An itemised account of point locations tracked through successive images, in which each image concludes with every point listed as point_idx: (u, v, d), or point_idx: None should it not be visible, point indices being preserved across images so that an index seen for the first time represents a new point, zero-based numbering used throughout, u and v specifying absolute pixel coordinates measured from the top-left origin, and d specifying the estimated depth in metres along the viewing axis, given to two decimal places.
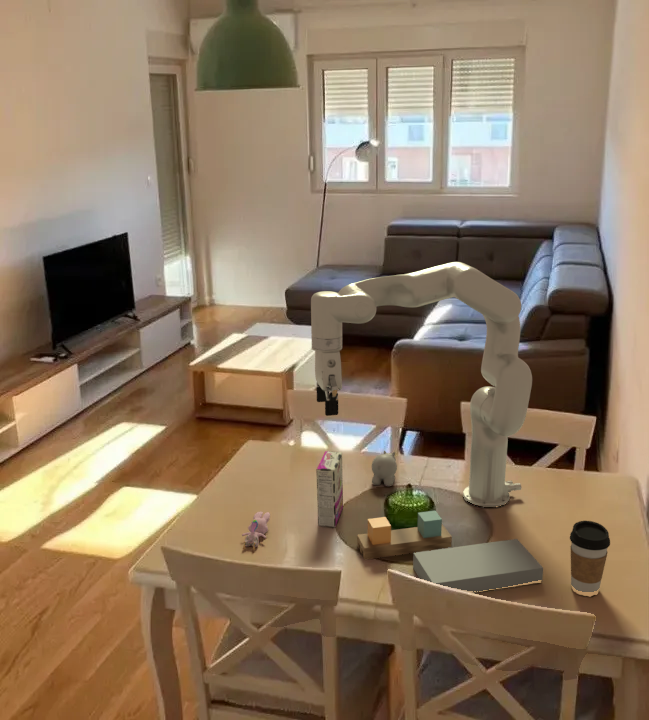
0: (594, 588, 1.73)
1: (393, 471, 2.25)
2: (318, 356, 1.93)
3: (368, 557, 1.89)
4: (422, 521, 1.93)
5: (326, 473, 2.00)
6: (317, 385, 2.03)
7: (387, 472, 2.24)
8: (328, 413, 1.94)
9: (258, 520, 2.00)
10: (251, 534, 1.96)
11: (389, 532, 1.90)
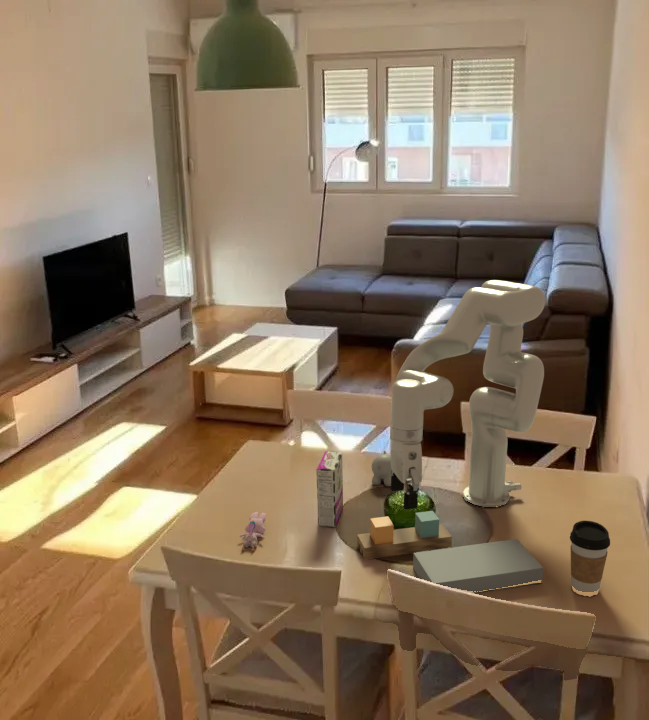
0: (594, 588, 1.73)
1: None
2: (397, 447, 1.84)
3: (368, 557, 1.89)
4: (419, 521, 1.92)
5: (326, 473, 2.00)
6: (392, 473, 1.94)
7: (387, 472, 2.24)
8: (407, 507, 1.85)
9: (255, 520, 2.00)
10: (249, 535, 1.95)
11: (392, 531, 1.90)
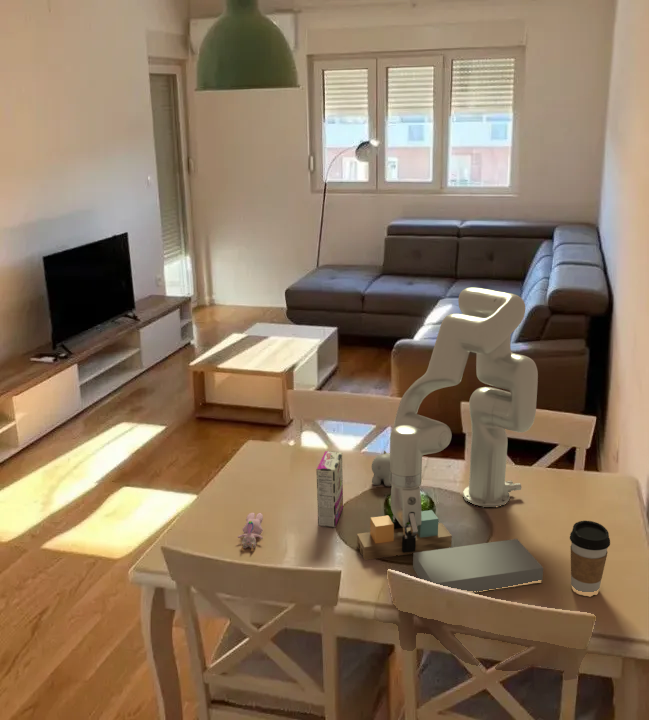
0: (594, 588, 1.73)
1: None
2: (397, 492, 1.88)
3: (368, 556, 1.89)
4: None
5: (326, 473, 2.00)
6: (393, 520, 1.97)
7: (387, 472, 2.24)
8: (405, 550, 1.90)
9: (253, 521, 2.00)
10: (248, 535, 1.95)
11: (392, 531, 1.90)
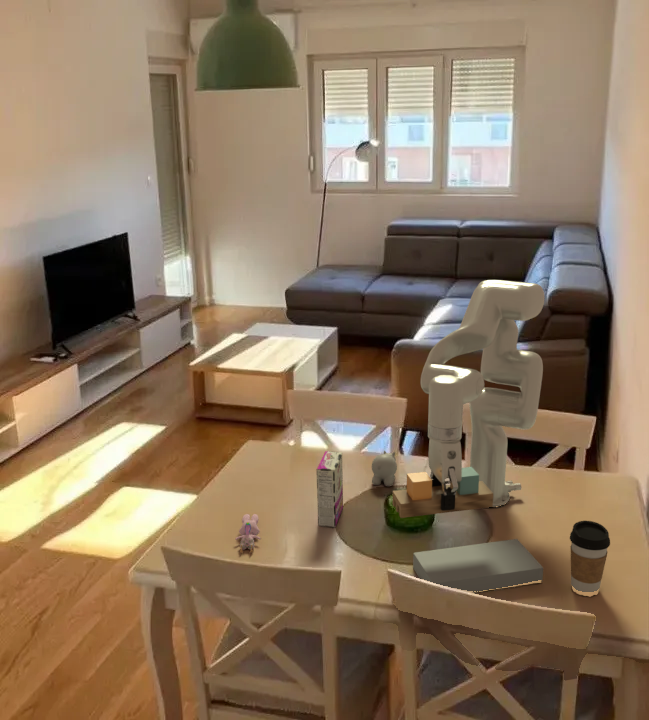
0: (594, 588, 1.73)
1: (393, 471, 2.25)
2: (436, 446, 1.78)
3: (404, 514, 1.79)
4: None
5: (326, 473, 2.00)
6: (431, 478, 1.86)
7: (387, 472, 2.24)
8: (444, 508, 1.80)
9: (249, 522, 1.99)
10: (246, 537, 1.94)
11: (430, 487, 1.80)
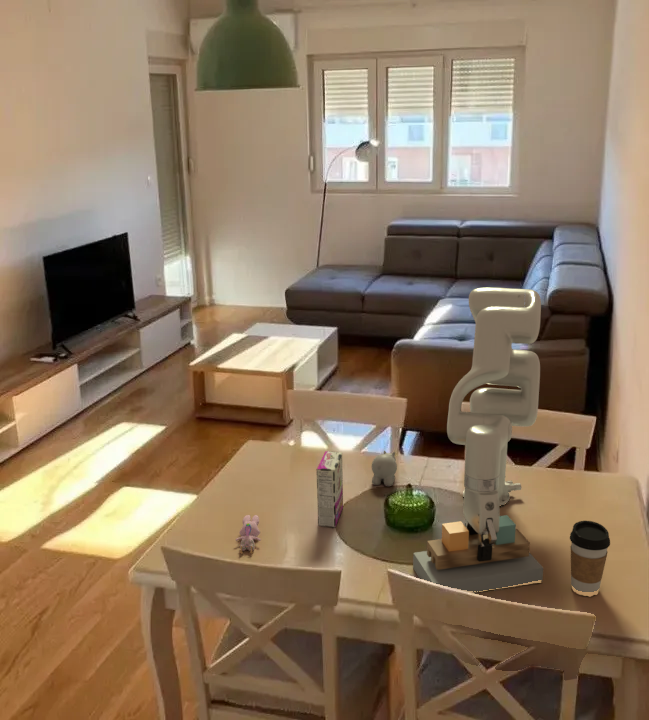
0: (594, 588, 1.73)
1: (393, 471, 2.25)
2: (473, 496, 1.74)
3: (441, 565, 1.76)
4: None
5: (326, 473, 2.00)
6: (465, 526, 1.83)
7: (387, 472, 2.24)
8: (481, 559, 1.77)
9: (250, 523, 1.99)
10: (246, 538, 1.94)
11: (466, 538, 1.76)
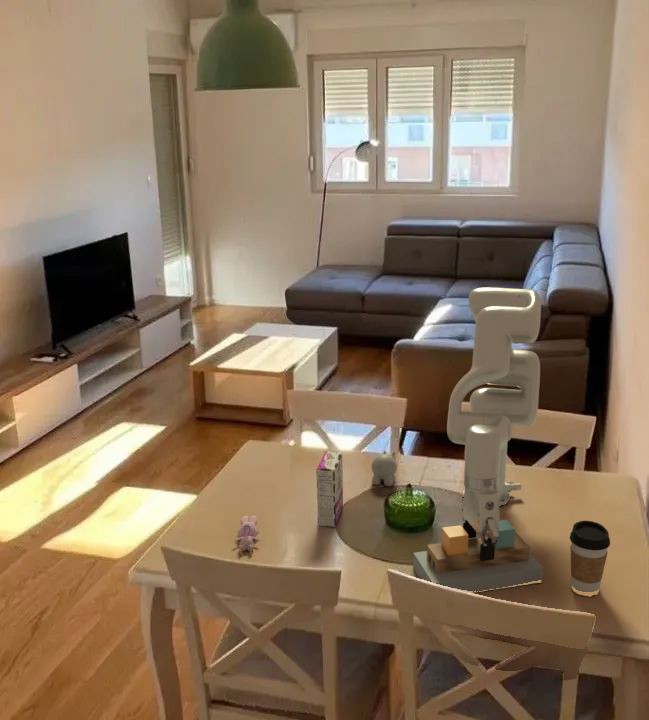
0: (594, 588, 1.73)
1: (393, 471, 2.25)
2: (473, 496, 1.74)
3: (441, 569, 1.76)
4: None
5: (326, 473, 2.00)
6: (463, 520, 1.84)
7: (387, 472, 2.24)
8: (483, 558, 1.75)
9: (248, 524, 1.98)
10: (245, 538, 1.94)
11: (466, 542, 1.77)
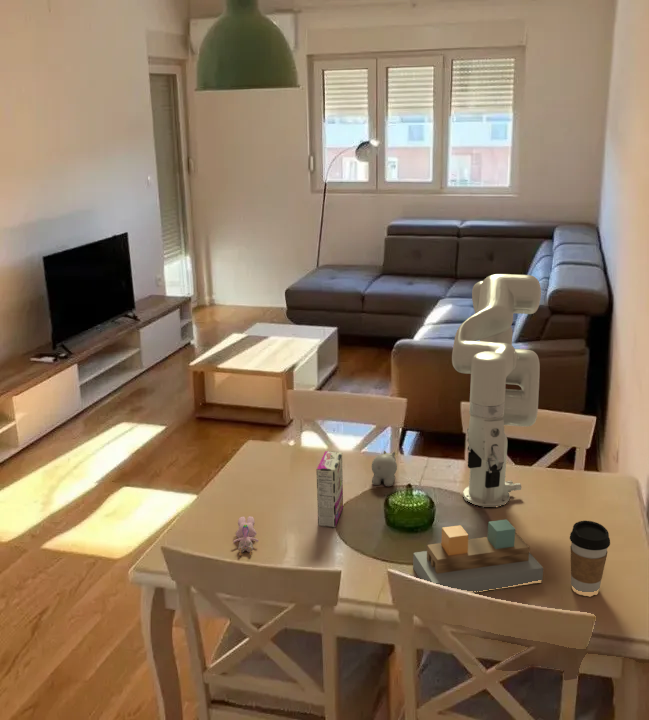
0: (594, 588, 1.73)
1: (393, 471, 2.25)
2: (478, 423, 1.75)
3: (441, 569, 1.76)
4: (494, 531, 1.79)
5: (326, 473, 2.00)
6: (468, 450, 1.85)
7: (387, 472, 2.24)
8: (489, 485, 1.76)
9: (246, 525, 1.98)
10: (244, 539, 1.93)
11: (466, 542, 1.77)
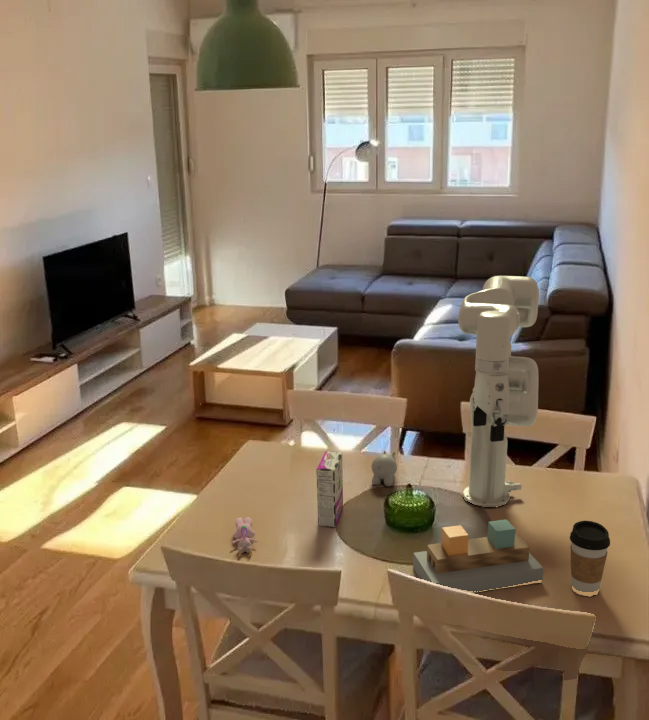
0: (594, 588, 1.73)
1: (393, 471, 2.25)
2: (483, 379, 1.83)
3: (441, 569, 1.76)
4: (494, 531, 1.79)
5: (326, 473, 2.00)
6: (474, 408, 1.93)
7: (387, 472, 2.24)
8: (493, 439, 1.84)
9: (244, 526, 1.98)
10: (243, 540, 1.93)
11: (466, 542, 1.77)
